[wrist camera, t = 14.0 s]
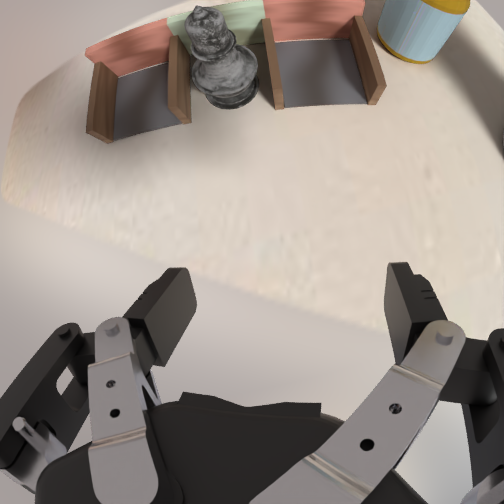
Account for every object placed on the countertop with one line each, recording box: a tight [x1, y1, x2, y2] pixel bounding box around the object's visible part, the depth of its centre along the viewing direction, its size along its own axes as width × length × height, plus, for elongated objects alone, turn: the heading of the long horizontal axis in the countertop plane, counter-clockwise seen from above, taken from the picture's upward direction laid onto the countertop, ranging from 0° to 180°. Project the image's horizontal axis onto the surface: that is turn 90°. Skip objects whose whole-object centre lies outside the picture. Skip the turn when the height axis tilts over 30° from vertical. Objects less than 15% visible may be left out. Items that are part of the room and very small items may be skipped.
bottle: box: [377, 0, 470, 64], centre depth 16 cm, size 7×7×15 cm
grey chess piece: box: [184, 6, 259, 109], centre depth 20 cm, size 6×6×12 cm
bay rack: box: [85, 0, 387, 144], centre depth 23 cm, size 27×10×6 cm, turn 95°
